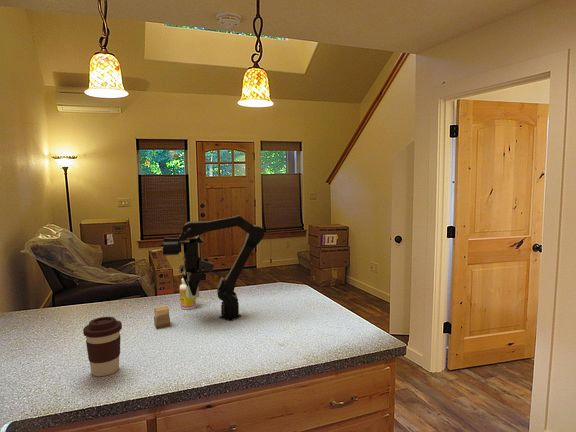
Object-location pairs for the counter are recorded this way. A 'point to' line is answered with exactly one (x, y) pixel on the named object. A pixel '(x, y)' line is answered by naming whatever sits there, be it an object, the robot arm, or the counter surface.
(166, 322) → the walnut base
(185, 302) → the supplement bottle
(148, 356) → the counter surface
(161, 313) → the oak block
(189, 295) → the sage block
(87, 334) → the coffee cup
